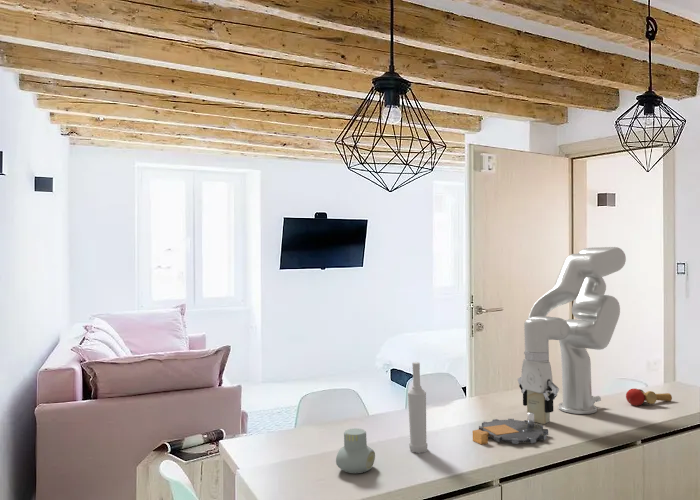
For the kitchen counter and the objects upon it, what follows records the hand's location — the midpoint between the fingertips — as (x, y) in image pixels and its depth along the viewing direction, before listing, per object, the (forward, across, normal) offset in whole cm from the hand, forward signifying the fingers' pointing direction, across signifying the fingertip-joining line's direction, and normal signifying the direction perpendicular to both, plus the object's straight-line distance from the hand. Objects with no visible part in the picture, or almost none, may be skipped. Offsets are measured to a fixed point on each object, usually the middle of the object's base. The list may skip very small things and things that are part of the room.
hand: (537, 408), depth 182 cm
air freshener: (+5, +7, -71) cm, 71 cm away
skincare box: (+4, 0, 0) cm, 4 cm away
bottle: (+5, +3, -49) cm, 49 cm away
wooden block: (+4, +6, -22) cm, 23 cm away
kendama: (+4, +4, +49) cm, 50 cm away
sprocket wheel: (+4, +6, -17) cm, 18 cm away
